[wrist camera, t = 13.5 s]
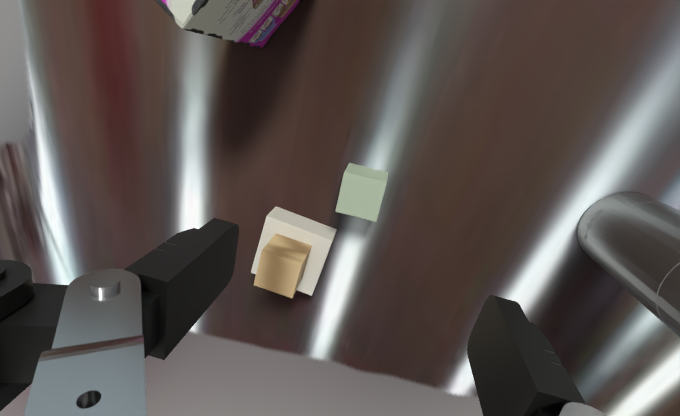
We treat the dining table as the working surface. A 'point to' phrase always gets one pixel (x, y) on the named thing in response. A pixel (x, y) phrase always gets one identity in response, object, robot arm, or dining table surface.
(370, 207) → the sage cube
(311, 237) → the cream block
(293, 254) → the oak cube
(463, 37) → the dining table surface
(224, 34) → the candy bar box
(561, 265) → the dining table surface
